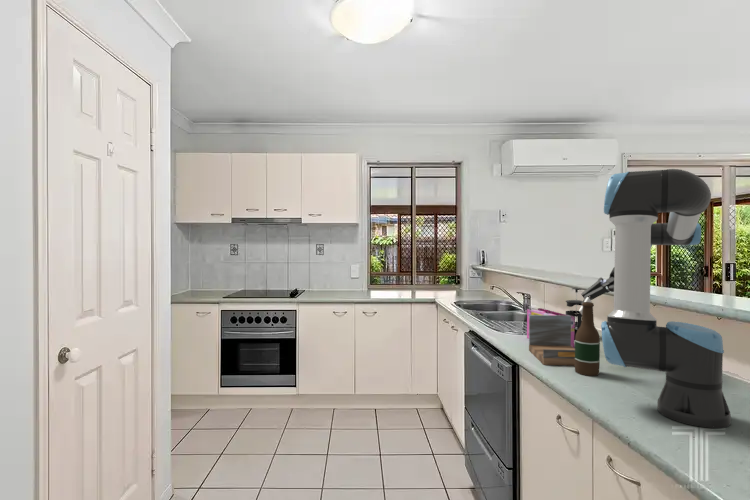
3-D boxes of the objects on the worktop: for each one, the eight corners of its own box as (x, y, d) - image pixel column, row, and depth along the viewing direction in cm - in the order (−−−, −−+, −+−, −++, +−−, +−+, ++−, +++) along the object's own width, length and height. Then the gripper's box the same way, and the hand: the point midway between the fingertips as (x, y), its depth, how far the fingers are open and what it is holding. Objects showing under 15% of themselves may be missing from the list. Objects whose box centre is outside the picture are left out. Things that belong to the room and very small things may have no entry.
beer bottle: (603, 377, 140) (604, 304, 139) (577, 375, 142) (578, 303, 141) (595, 370, 148) (596, 301, 147) (571, 368, 149) (572, 300, 149)
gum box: (524, 337, 196) (524, 308, 196) (539, 336, 198) (539, 307, 198) (558, 350, 173) (558, 317, 173) (575, 349, 175) (575, 316, 175)
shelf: (589, 366, 152) (590, 325, 152) (543, 365, 154) (544, 325, 153) (569, 351, 172) (569, 315, 172) (528, 350, 174) (529, 315, 173)
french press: (591, 341, 188) (591, 289, 188) (568, 340, 190) (569, 289, 189) (582, 335, 200) (582, 286, 199) (561, 334, 201) (561, 286, 201)
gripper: (665, 281, 146) (640, 329, 139) (597, 275, 167) (572, 317, 160) (657, 266, 143) (631, 314, 136) (588, 262, 165) (562, 304, 158)
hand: (599, 316), depth 148 cm, fingers open, 13 cm apart
